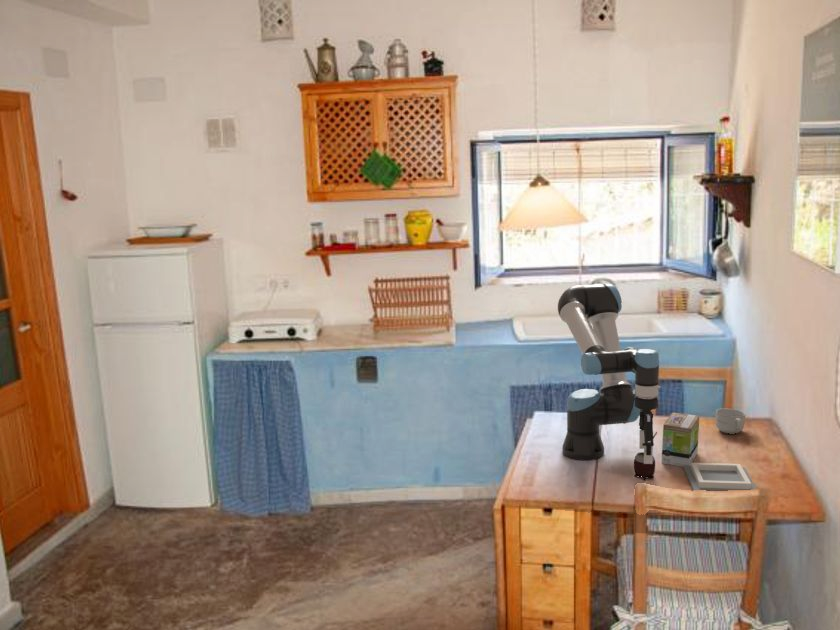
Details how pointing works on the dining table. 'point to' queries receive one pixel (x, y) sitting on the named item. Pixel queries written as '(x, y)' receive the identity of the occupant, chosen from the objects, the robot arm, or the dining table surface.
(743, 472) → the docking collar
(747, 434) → the dining table surface
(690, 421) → the tea box
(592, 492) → the dining table surface
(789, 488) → the dining table surface
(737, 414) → the teacup
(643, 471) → the mate gourd
